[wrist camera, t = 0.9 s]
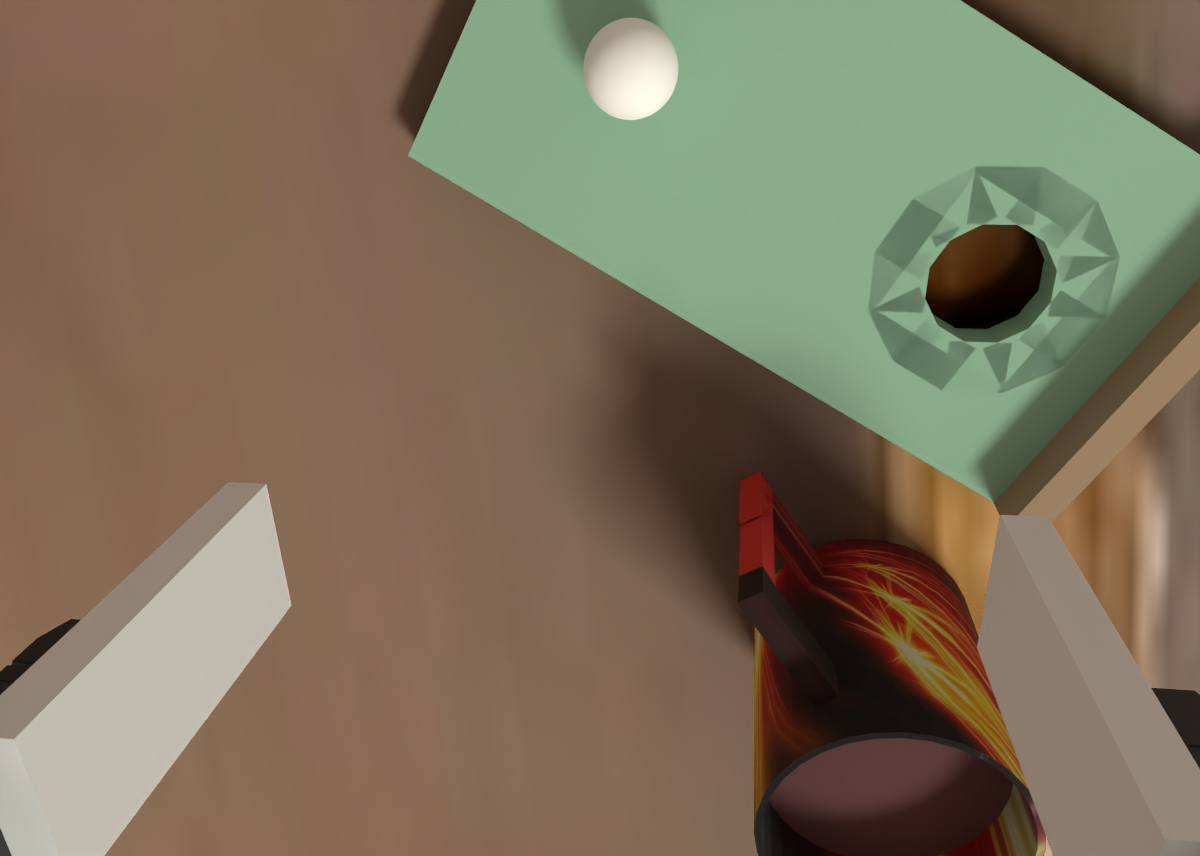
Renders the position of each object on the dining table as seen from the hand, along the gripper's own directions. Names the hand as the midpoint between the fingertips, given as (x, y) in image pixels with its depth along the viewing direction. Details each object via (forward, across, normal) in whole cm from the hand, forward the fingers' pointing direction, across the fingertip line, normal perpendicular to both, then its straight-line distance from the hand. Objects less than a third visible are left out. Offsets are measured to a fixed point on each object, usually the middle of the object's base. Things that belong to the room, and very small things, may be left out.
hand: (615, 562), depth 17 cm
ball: (+19, -2, +7) cm, 20 cm away
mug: (+22, +6, -16) cm, 28 cm away
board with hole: (+22, +5, +3) cm, 23 cm away
